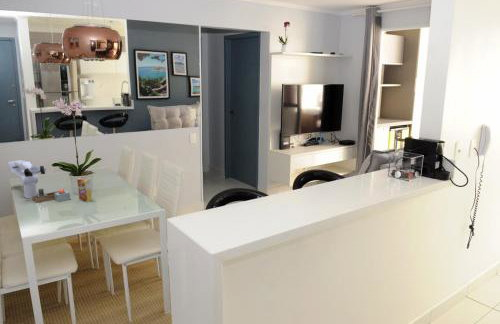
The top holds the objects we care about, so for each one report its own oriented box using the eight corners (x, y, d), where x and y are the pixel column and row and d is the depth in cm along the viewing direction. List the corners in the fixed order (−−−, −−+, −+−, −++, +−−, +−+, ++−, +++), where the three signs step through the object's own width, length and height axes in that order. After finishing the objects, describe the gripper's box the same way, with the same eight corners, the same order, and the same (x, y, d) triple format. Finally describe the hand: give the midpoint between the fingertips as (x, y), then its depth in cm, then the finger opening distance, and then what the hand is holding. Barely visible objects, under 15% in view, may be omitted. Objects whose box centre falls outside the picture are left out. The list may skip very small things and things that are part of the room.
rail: (33, 200, 269) (32, 196, 268) (61, 194, 282) (61, 190, 282) (36, 203, 264) (36, 198, 263) (65, 197, 277) (65, 193, 276)
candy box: (78, 200, 271) (76, 178, 268) (83, 198, 275) (81, 177, 271) (87, 202, 267) (85, 180, 263) (92, 200, 270) (90, 179, 267)
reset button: (59, 194, 270) (58, 189, 269) (63, 194, 272) (63, 188, 271) (60, 195, 268) (60, 190, 267) (65, 195, 270) (64, 189, 269)
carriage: (35, 198, 269) (34, 189, 267) (45, 196, 273) (44, 187, 272) (38, 200, 265) (37, 191, 264) (47, 198, 269) (46, 189, 268)
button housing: (54, 200, 270) (54, 193, 269) (66, 197, 276) (66, 190, 275) (58, 202, 266) (57, 195, 265) (70, 199, 272) (69, 192, 271)
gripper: (18, 165, 262) (25, 169, 253) (41, 161, 273) (49, 166, 264) (19, 175, 264) (26, 180, 255) (42, 171, 274) (50, 176, 265)
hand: (38, 173), depth 260 cm, fingers open, 7 cm apart
